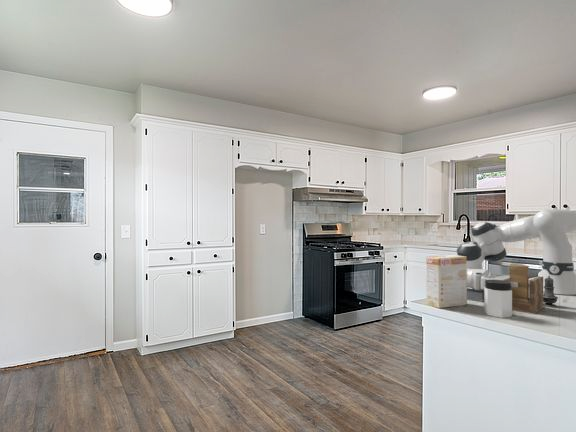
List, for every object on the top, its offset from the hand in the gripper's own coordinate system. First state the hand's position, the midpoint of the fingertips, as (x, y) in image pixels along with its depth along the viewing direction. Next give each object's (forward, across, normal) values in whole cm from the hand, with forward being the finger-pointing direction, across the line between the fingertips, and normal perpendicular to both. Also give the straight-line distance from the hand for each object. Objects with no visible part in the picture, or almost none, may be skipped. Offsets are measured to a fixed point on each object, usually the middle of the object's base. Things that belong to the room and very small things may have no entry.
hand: (520, 284), depth 144 cm
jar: (-1, +21, -9) cm, 23 cm away
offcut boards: (0, +5, -9) cm, 10 cm away
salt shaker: (+8, -9, -9) cm, 15 cm away
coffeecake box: (-20, +20, -9) cm, 30 cm away
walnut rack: (0, +3, -9) cm, 9 cm away
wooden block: (0, 0, -8) cm, 9 cm away
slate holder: (-17, 0, -8) cm, 19 cm away
